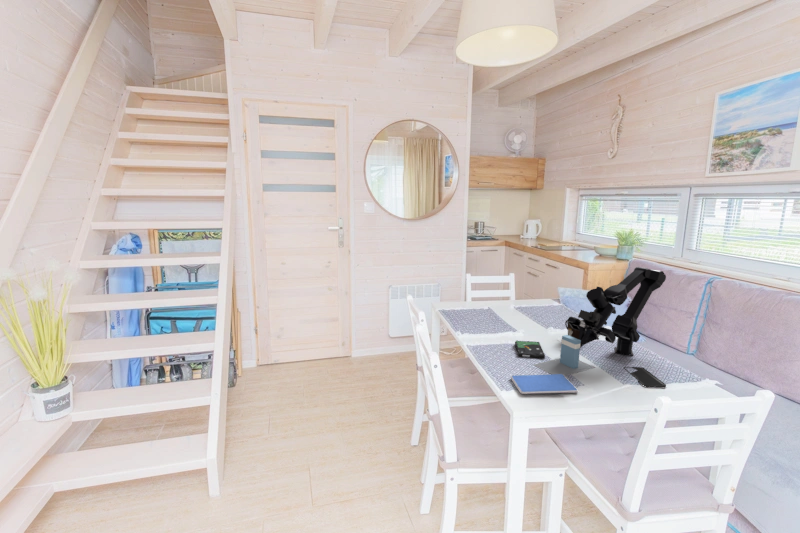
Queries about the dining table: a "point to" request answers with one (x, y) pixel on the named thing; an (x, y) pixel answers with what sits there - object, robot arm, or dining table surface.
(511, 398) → the dining table surface
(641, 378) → the phone
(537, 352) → the disk drive
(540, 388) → the tablet computer
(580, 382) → the dining table surface
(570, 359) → the box
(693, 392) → the dining table surface
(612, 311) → the robot arm
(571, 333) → the coffee mug
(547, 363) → the mat
